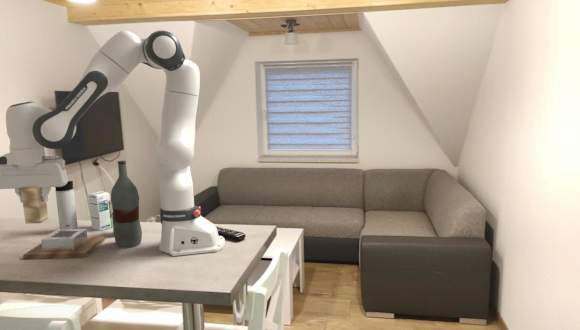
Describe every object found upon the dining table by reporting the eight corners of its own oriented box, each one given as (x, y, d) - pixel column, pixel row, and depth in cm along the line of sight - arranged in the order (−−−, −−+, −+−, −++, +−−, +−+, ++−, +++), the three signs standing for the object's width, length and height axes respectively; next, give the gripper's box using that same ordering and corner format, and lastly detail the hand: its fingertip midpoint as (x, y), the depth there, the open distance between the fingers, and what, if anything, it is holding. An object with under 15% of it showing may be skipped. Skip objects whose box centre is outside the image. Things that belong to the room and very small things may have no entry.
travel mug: (71, 233, 164) (65, 183, 161) (56, 232, 166) (50, 182, 162) (82, 228, 170) (77, 179, 167) (67, 227, 172) (62, 179, 168)
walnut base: (104, 240, 156) (104, 236, 156) (85, 256, 140) (85, 252, 140) (48, 242, 155) (48, 238, 155) (23, 259, 139) (23, 254, 139)
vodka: (110, 248, 147) (102, 163, 142) (121, 239, 156) (114, 159, 151) (137, 248, 147) (129, 163, 142) (146, 239, 156) (140, 158, 151)
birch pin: (48, 218, 133) (44, 184, 131) (40, 223, 128) (36, 187, 126) (33, 219, 133) (29, 184, 131) (25, 223, 128) (20, 188, 126)
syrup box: (100, 231, 167) (96, 195, 164) (91, 228, 170) (87, 193, 167) (113, 227, 171) (110, 192, 169) (104, 225, 174) (100, 190, 172)
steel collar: (87, 239, 153) (86, 228, 152) (74, 250, 143) (73, 238, 142) (57, 240, 152) (56, 229, 152) (42, 251, 142) (41, 239, 141)
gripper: (68, 154, 131) (74, 197, 133) (0, 156, 130) (7, 200, 132) (58, 157, 124) (64, 203, 127) (-14, 159, 124) (-6, 205, 126)
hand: (34, 201), depth 129 cm, fingers closed on birch pin, 4 cm apart
